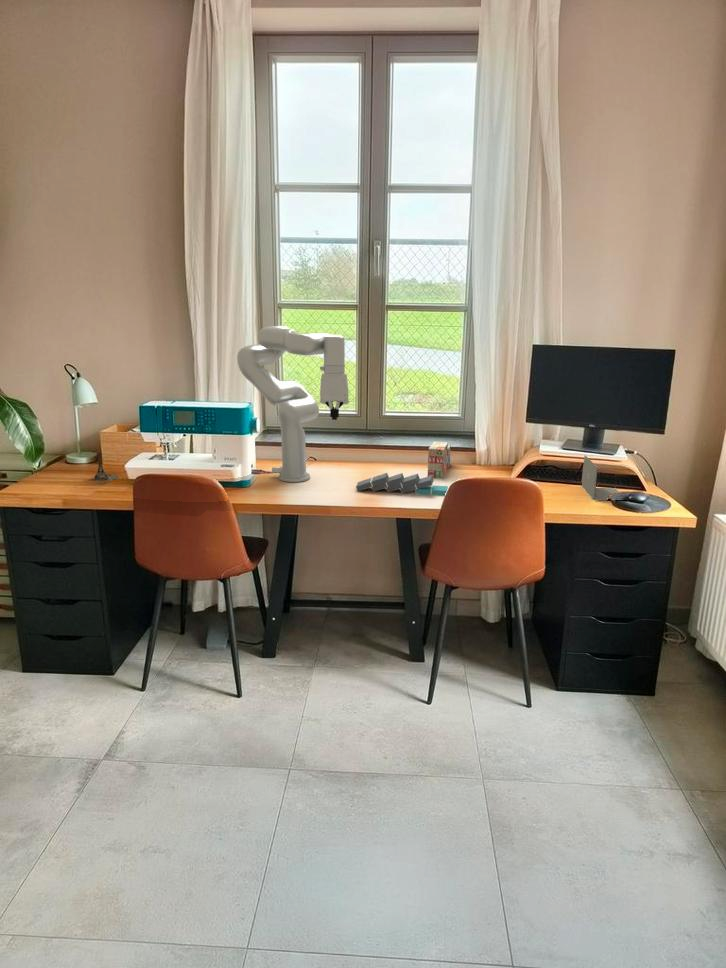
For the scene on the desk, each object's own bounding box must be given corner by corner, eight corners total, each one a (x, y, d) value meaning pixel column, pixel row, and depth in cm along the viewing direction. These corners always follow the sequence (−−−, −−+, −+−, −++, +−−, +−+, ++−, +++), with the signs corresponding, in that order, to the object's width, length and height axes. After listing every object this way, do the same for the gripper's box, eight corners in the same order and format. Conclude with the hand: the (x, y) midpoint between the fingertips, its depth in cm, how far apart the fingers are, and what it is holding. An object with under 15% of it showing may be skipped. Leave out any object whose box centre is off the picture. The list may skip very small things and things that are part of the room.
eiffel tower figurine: (101, 486, 257) (97, 453, 253) (79, 484, 259) (75, 451, 255) (124, 476, 270) (121, 444, 267) (103, 474, 273) (99, 442, 269)
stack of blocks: (435, 463, 290) (437, 436, 287) (450, 464, 289) (451, 437, 285) (427, 477, 271) (428, 447, 267) (442, 478, 269) (443, 449, 265)
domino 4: (400, 488, 249) (430, 480, 246) (402, 483, 255) (432, 475, 251) (401, 493, 250) (432, 485, 246) (404, 488, 255) (433, 480, 252)
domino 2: (371, 487, 250) (400, 477, 248) (373, 482, 256) (402, 472, 253) (373, 492, 251) (402, 482, 248) (375, 487, 257) (404, 477, 254)
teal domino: (416, 489, 255) (447, 491, 253) (415, 494, 249) (447, 495, 247) (416, 484, 254) (447, 486, 252) (415, 489, 248) (447, 490, 247)
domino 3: (386, 487, 250) (415, 478, 246) (388, 482, 256) (417, 473, 252) (387, 492, 250) (417, 483, 247) (390, 487, 256) (419, 478, 252)
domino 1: (355, 486, 251) (385, 477, 248) (358, 482, 257) (387, 472, 254) (357, 491, 251) (387, 481, 249) (359, 486, 257) (388, 477, 254)
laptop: (627, 502, 242) (632, 468, 238) (592, 501, 243) (596, 467, 239) (613, 487, 259) (617, 455, 255) (580, 486, 260) (584, 454, 256)
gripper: (312, 370, 238) (313, 420, 244) (353, 371, 237) (353, 421, 243) (315, 368, 245) (316, 416, 251) (355, 368, 244) (355, 417, 250)
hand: (334, 419), depth 247 cm, fingers closed
